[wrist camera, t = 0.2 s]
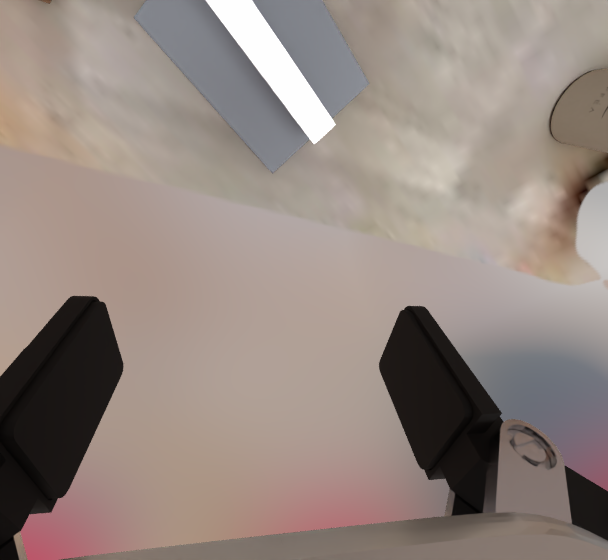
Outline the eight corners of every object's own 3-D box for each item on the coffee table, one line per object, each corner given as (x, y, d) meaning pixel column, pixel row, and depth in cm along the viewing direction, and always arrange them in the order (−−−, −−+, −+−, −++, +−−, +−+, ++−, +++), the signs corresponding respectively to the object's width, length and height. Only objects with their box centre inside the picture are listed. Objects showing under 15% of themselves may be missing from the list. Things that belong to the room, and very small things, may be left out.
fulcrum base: (245, -126, 23) (244, -137, 22) (365, 83, 33) (369, 83, 31) (139, 20, 27) (133, 17, 26) (272, 170, 36) (272, 173, 35)
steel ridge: (204, -53, 24) (186, -97, 18) (321, 115, 32) (335, 124, 26) (185, -27, 25) (161, -60, 19) (304, 131, 33) (314, 144, 27)
